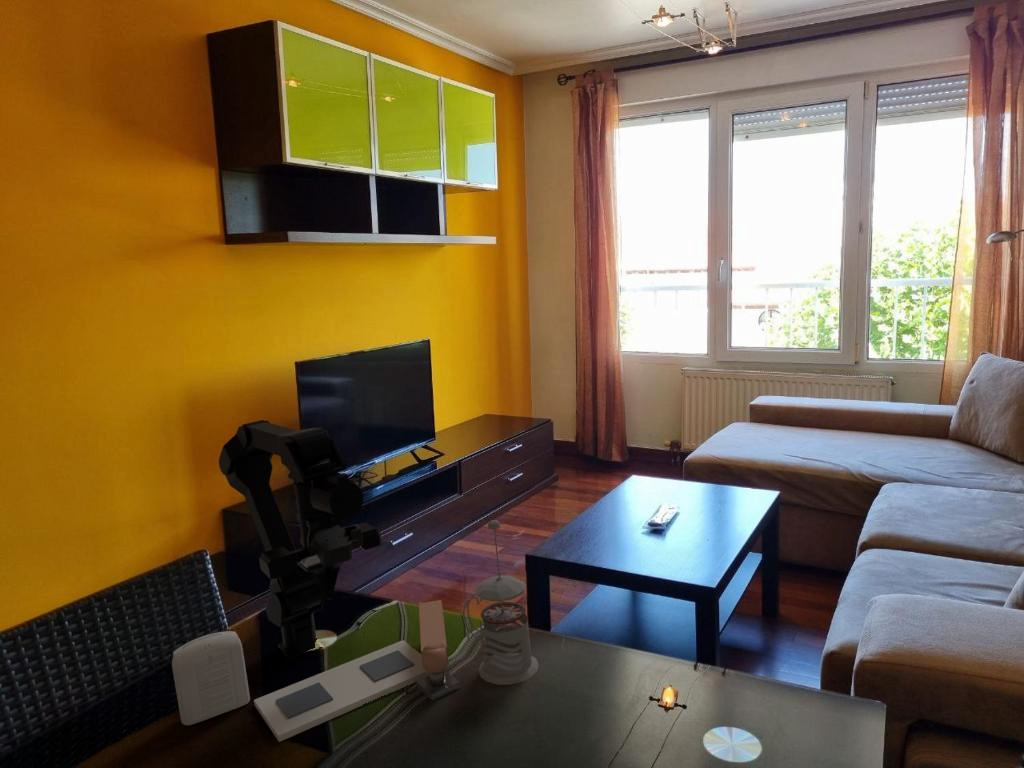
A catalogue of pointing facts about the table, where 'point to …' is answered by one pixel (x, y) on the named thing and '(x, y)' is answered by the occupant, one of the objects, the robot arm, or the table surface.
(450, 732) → the table surface
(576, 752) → the table surface
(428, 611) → the cable arm
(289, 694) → the panel
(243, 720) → the table surface
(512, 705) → the table surface
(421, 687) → the dark plate
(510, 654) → the french press
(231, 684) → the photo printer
